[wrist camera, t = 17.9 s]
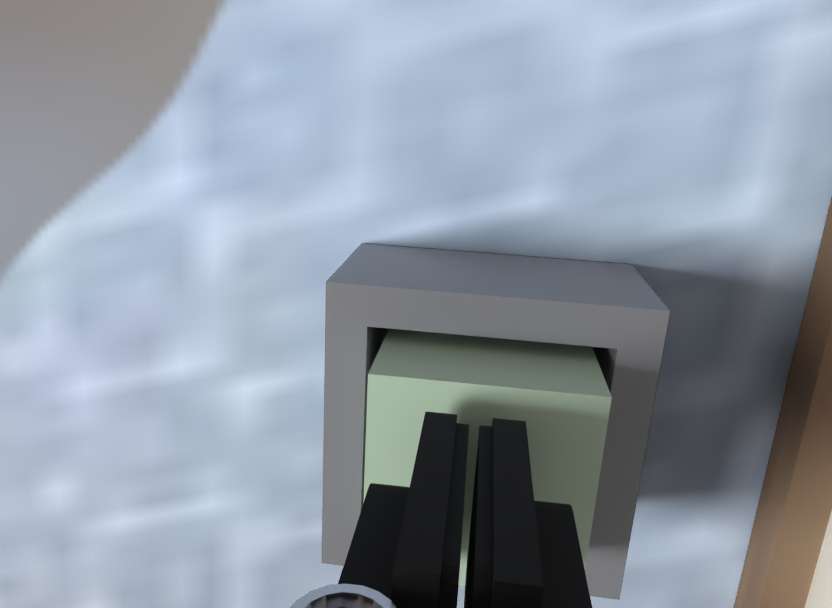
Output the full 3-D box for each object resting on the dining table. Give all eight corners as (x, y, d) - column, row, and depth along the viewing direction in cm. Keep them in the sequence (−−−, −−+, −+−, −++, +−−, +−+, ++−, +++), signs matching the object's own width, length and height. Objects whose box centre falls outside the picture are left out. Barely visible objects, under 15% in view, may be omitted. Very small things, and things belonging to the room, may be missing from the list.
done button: (590, 343, 13) (612, 397, 11) (566, 518, 14) (580, 600, 12) (390, 326, 14) (368, 373, 11) (382, 497, 15) (360, 573, 12)
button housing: (631, 264, 15) (669, 310, 12) (595, 501, 17) (618, 599, 14) (361, 243, 16) (326, 281, 12) (354, 474, 18) (321, 562, 14)
